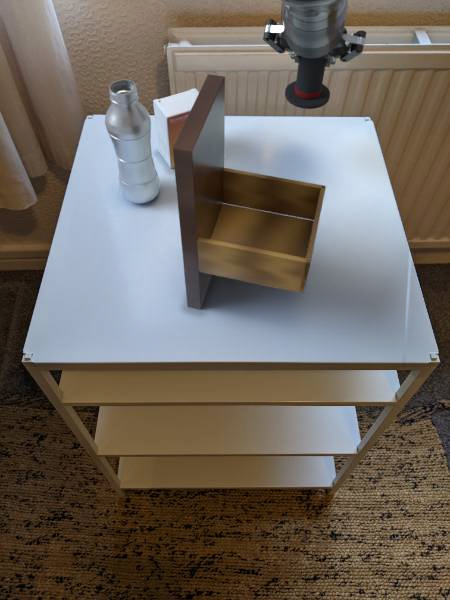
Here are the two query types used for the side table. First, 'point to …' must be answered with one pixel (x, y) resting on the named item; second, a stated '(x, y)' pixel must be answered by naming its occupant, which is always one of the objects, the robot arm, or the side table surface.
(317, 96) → the hat
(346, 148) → the side table surface
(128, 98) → the plastic bottle
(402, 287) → the side table surface
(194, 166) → the wooden drawer
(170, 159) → the small box
